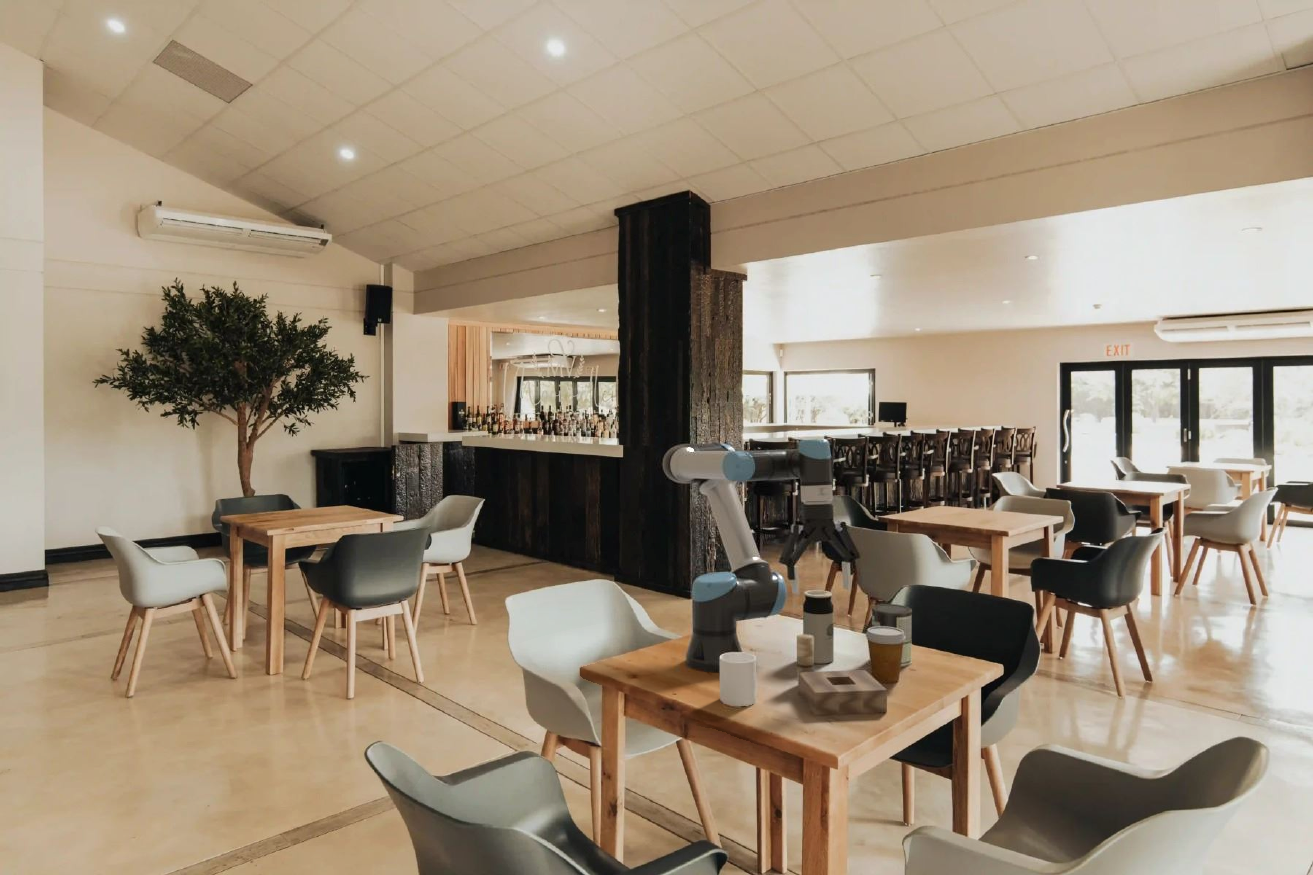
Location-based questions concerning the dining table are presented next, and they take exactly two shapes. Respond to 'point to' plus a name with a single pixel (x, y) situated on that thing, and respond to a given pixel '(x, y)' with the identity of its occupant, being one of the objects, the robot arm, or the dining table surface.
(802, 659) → the peg
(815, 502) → the robot arm
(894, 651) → the disposable coffee cup
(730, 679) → the cup
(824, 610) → the travel mug
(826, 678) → the board
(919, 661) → the dining table surface
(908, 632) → the coffee can
